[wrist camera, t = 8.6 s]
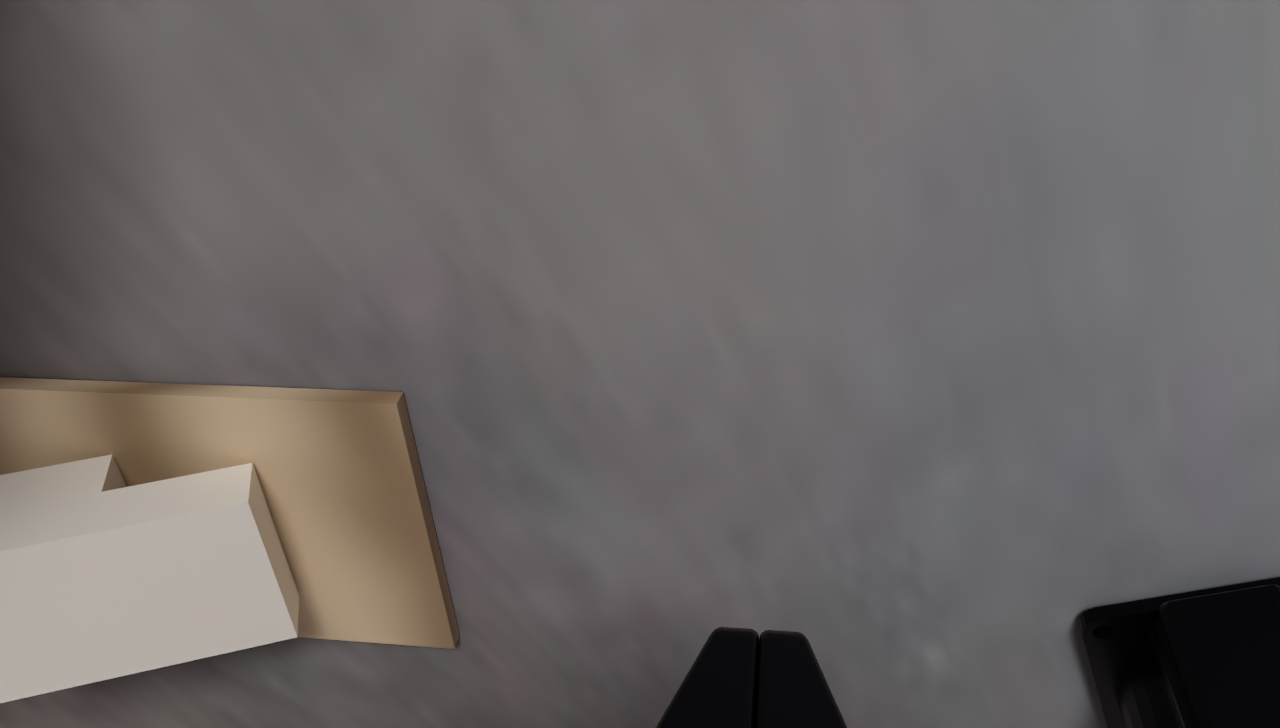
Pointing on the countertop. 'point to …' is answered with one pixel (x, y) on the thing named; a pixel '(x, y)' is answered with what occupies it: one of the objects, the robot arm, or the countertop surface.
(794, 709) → the robot arm
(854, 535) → the countertop surface
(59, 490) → the domino
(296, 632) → the domino
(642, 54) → the countertop surface
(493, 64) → the countertop surface
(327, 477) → the oak strip
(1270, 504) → the countertop surface
